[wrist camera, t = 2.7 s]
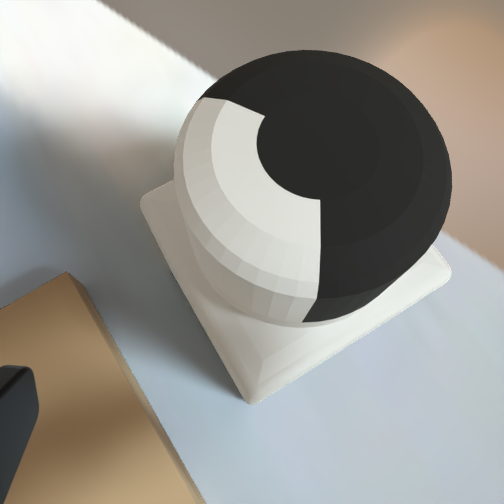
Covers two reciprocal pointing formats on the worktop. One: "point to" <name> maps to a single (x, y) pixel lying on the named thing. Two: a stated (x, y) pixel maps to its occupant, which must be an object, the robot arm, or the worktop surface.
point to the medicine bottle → (302, 211)
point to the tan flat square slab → (85, 409)
